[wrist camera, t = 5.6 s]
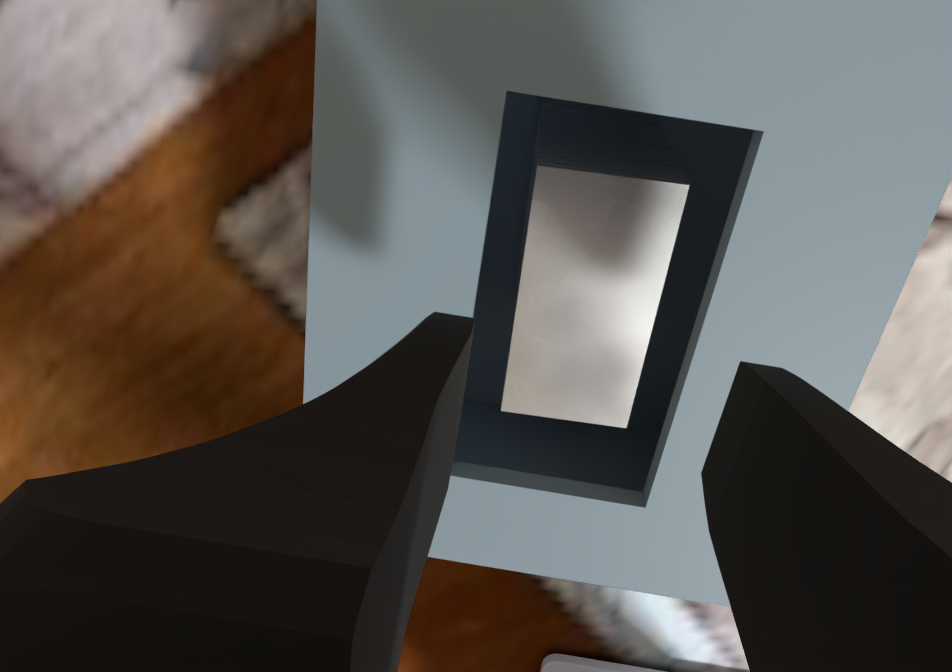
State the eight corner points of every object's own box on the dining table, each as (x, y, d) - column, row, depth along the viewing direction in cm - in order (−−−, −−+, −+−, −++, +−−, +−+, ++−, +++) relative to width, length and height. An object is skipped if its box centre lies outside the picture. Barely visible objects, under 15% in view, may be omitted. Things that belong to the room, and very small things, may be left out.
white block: (609, 309, 19) (626, 428, 15) (512, 296, 19) (501, 411, 15) (653, 111, 16) (689, 185, 12) (541, 97, 16) (537, 165, 12)
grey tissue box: (705, 446, 21) (759, 611, 16) (360, 390, 21) (298, 535, 16) (863, -13, 16) (1028, 2, 10) (397, -85, 16) (320, -107, 10)
